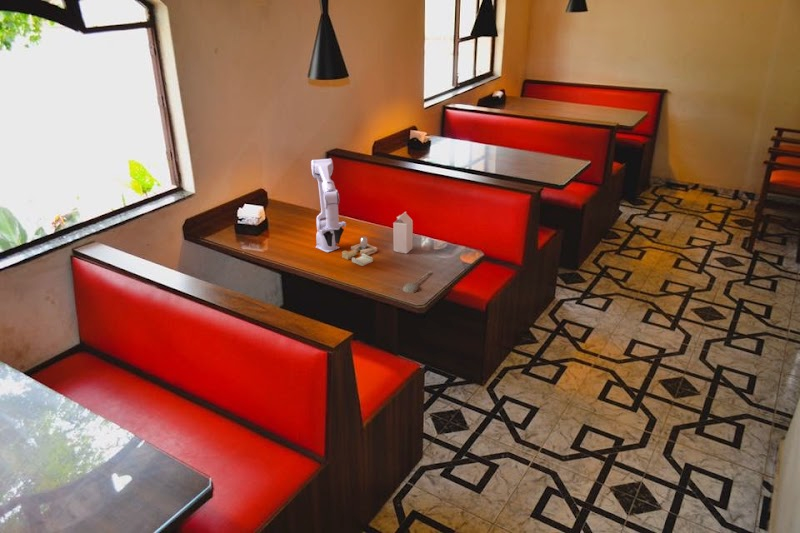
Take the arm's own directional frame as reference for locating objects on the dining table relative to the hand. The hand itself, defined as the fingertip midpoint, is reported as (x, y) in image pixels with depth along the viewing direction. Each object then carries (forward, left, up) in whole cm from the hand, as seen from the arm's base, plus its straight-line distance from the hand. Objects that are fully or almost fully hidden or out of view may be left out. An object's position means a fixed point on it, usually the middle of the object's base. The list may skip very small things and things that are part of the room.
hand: (333, 244), depth 291 cm
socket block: (0, +19, -9) cm, 21 cm away
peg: (0, +19, -9) cm, 21 cm away
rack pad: (+9, +10, -9) cm, 16 cm away
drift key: (0, +10, -9) cm, 14 cm away
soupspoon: (+43, +12, -10) cm, 46 cm away
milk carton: (+13, +33, -10) cm, 37 cm away
